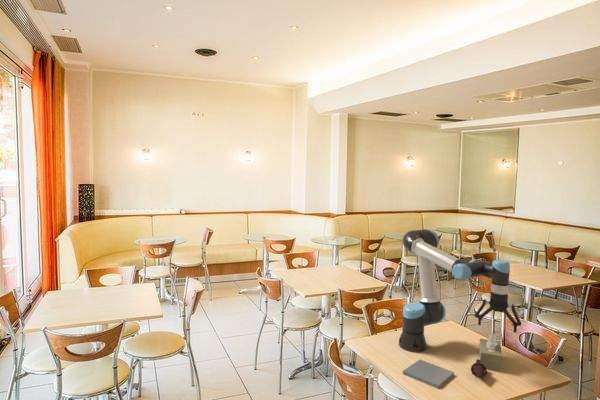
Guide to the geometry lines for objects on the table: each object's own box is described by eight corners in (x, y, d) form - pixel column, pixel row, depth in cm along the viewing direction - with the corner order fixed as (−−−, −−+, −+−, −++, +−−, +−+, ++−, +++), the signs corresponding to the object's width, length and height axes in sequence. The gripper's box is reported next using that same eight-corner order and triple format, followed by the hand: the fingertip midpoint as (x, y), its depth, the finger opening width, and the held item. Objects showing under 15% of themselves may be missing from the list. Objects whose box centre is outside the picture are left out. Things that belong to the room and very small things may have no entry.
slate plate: (402, 373, 193) (402, 370, 193) (419, 362, 206) (419, 359, 205) (438, 388, 181) (438, 385, 181) (454, 375, 193) (454, 372, 193)
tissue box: (501, 372, 197) (503, 341, 196) (479, 368, 201) (481, 337, 200) (499, 356, 214) (500, 327, 213) (479, 352, 218) (480, 324, 217)
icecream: (491, 372, 184) (486, 360, 198) (475, 366, 186) (471, 354, 200) (486, 386, 184) (482, 373, 198) (470, 379, 186) (467, 367, 201)
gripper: (470, 289, 196) (467, 331, 198) (528, 299, 183) (525, 344, 185) (472, 286, 202) (470, 326, 204) (529, 295, 190) (526, 338, 191)
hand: (496, 335), depth 195 cm, fingers open, 13 cm apart
